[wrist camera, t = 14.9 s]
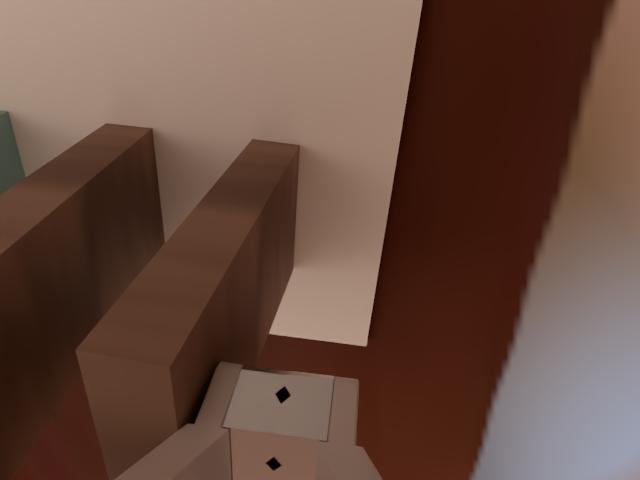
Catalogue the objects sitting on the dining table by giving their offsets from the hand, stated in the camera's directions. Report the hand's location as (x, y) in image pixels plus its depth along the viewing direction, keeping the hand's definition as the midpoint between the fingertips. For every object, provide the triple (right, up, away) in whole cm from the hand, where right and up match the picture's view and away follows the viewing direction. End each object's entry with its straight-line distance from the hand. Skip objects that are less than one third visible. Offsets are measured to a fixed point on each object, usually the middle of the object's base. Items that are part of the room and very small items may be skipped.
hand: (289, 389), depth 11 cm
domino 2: (-1, +4, +7) cm, 8 cm away
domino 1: (-6, +5, +7) cm, 11 cm away
